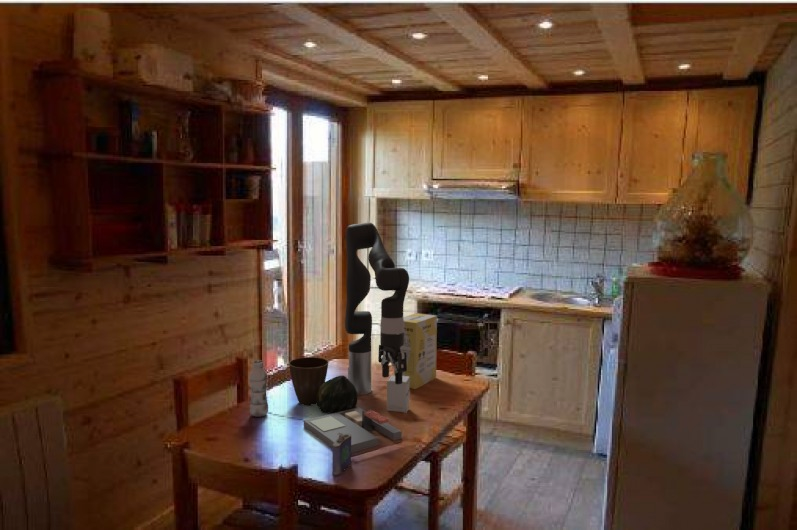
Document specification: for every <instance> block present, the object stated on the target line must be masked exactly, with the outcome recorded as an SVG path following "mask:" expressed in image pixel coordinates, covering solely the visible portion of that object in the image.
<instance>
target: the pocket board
mask: <svg viewBox="0 0 797 530" xmlns="http://www.w3.org/2000/svg"><path fill="white" fill-rule="evenodd" d="M364 410H365V409H364V408H361V407H360V406H359V407H358V406H357V407H355V408H354V409H350V410H346V411H341V412H337V413H333V414H330V413H328V414H325V415H321V416H316V417H313V418H308V419H304V420H303V428H304V429H305V430H306V431H308V432H309V433H311V434H312V435H313V436H314V437H316V438H317V439H319V440H320V441H322V442H323V443H325V445H327V446H328V447H330V448H331V449H333V447H332V446H333V444H334V442H335V441H336V440H337V439H338V437H339V434H338V433H340V434H341V433H342V434H343V435H344V434H350V435H351V454H352V453H355V452H359V451H363V450H366V449H370V448H373V447H376V446H378V445H379V437H378V436H377V435H375V434H374V433H371V431H369V432H368V431H367V430H365V429H364V428H362V427H360V426H359V425H357V424H355V423H354V422H352V421H351V420H349V419H347V418H346V417H344V416H345V413H348V412H352V411H356V412H358V413H360V414H362V411H364ZM372 425H373V426H374V428H373V429H374V430H375V431H377V432H378V433H381V434H382V435H384V436H386V437H387V438H388V439H391V440H392V441H397V440H401V439H402V432H403V431H402V430H400V429H399V428H397V427H395V426H393V425H392V424H390V423H389V422H387V423H383V424H379V423H377V422H376V421H374V420H372ZM401 443H402V441H399V442H396V443H394V445H398V444H401ZM377 450H378V448H375V449H372V450H369V451H365V452H361V453H357V454H355V455H354V454H353V455H351V458H353V457H356V456H360V455H363V454H366V453H370V452H373V451H377Z"/></svg>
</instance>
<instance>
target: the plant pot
mask: <svg viewBox="0 0 797 530" xmlns="http://www.w3.org/2000/svg"><path fill="white" fill-rule="evenodd" d="M288 366H289V373H290V378H291V382H292V386H293V389H294V393H295V396H296V398H297V401H298V403H299V405H301V406H306V407H307V406H308V407H309V406H316V405H317V404H316V394H317V391H318V390H319V388H320V386H321V385H322V384H323V383H325V382H326V381H327V380H326V379H327V375H328V370H329V361H328V360H327V358H326V359H325V358H322V357H315V356H314V357H313V356H312V357H310V356H307V357H299V358H298V357H297V358H295V359H292V360H289V363H288Z"/></svg>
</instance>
